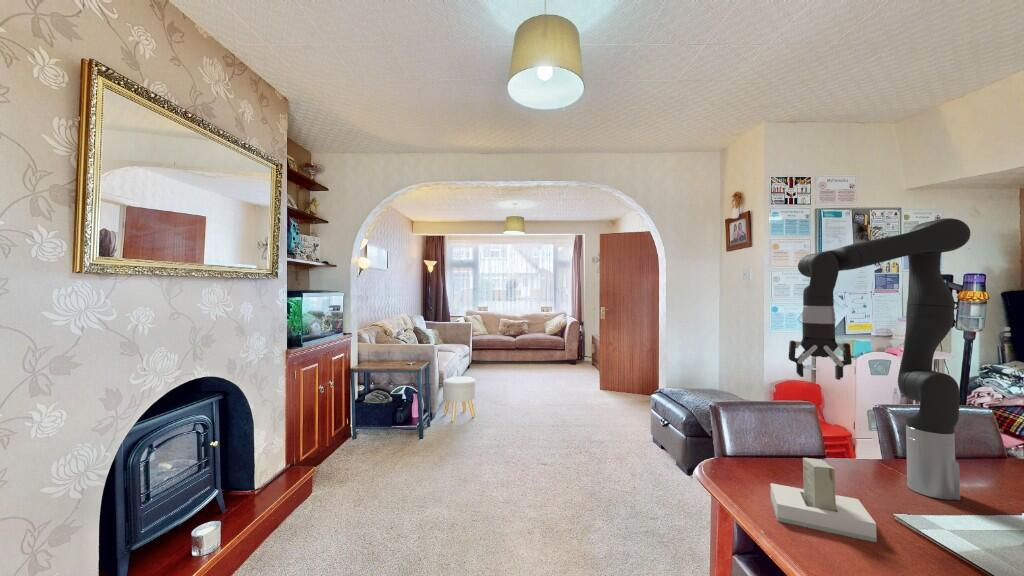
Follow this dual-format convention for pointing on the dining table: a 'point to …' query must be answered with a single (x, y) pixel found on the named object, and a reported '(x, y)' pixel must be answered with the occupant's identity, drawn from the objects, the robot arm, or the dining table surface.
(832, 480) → the skincare box
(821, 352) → the robot arm
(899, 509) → the dining table surface
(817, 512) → the white slotted base
